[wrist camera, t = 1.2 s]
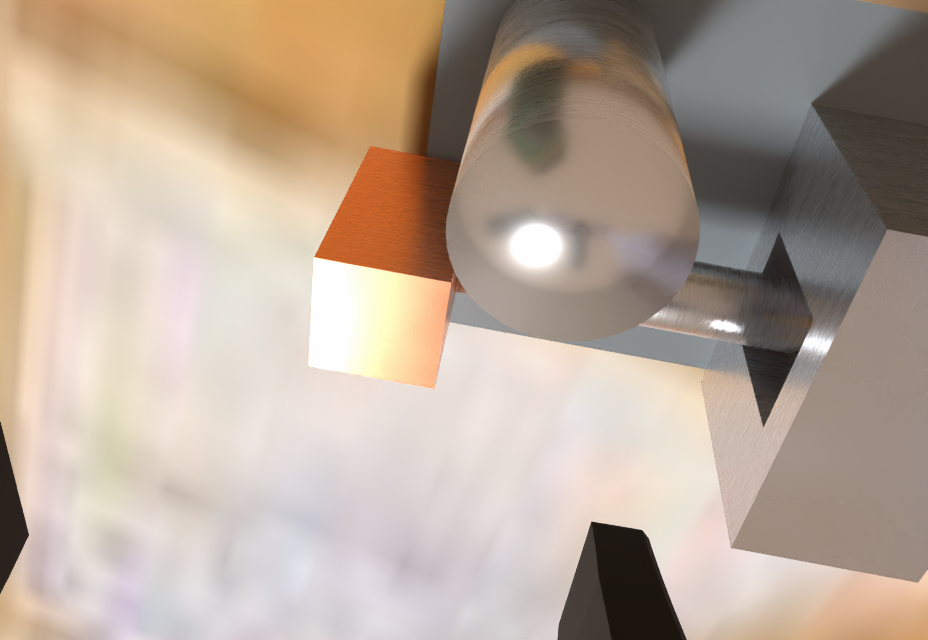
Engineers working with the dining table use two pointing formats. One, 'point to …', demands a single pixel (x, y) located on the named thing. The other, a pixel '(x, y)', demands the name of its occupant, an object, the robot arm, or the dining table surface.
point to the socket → (903, 4)
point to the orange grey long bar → (435, 284)
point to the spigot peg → (573, 175)
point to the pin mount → (836, 359)
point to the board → (717, 110)
